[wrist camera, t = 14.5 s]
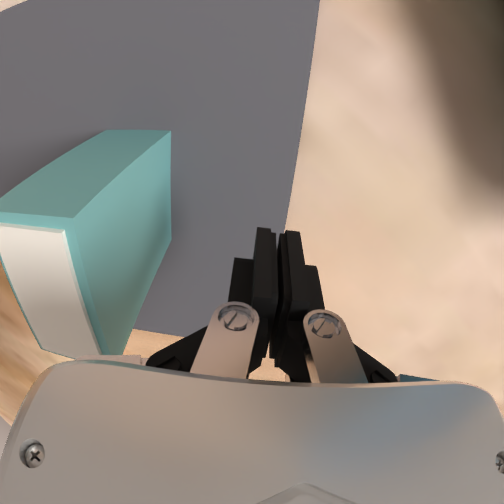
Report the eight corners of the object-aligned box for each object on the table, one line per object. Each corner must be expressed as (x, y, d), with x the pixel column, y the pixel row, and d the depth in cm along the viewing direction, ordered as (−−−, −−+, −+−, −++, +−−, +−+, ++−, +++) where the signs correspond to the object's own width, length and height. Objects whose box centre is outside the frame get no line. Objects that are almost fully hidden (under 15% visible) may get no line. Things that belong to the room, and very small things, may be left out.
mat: (320, -22, 11) (322, -25, 10) (262, 340, 26) (261, 346, 25) (-10, 19, 10) (-15, 19, 10) (37, 302, 25) (34, 306, 25)
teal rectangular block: (171, 130, 16) (69, 221, 7) (171, 239, 20) (115, 373, 11) (106, 129, 16) (-19, 213, 7) (115, 233, 20) (39, 351, 11)
